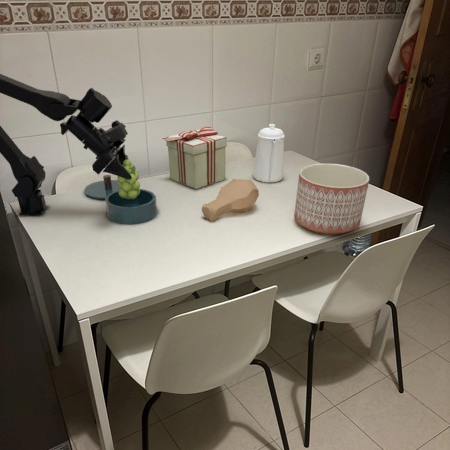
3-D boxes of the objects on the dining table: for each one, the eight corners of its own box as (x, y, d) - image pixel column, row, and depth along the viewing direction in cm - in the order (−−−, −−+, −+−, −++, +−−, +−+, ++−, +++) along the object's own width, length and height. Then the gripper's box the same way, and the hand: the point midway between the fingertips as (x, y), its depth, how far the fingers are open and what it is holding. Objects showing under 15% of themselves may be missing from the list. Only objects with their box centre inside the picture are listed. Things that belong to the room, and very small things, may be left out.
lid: (80, 200, 143) (77, 184, 140) (90, 182, 156) (87, 167, 153) (129, 200, 144) (127, 184, 141) (135, 183, 156) (133, 168, 153)
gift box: (192, 167, 171) (190, 120, 161) (228, 179, 161) (229, 129, 151) (158, 178, 160) (155, 128, 150) (195, 192, 151) (194, 140, 141)
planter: (281, 215, 137) (286, 167, 128) (333, 206, 144) (341, 160, 135) (317, 243, 123) (325, 191, 114) (372, 231, 129) (384, 181, 121)
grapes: (124, 202, 129) (120, 159, 122) (114, 195, 133) (110, 153, 127) (145, 198, 132) (142, 156, 126) (134, 191, 137) (131, 150, 130)
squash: (264, 207, 142) (267, 183, 135) (218, 234, 132) (219, 209, 125) (240, 192, 147) (242, 168, 140) (194, 216, 137) (194, 191, 130)
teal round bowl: (103, 224, 130) (101, 207, 127) (112, 203, 142) (110, 188, 139) (154, 224, 130) (153, 207, 127) (158, 203, 142) (157, 188, 139)
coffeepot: (254, 191, 153) (257, 134, 142) (251, 166, 173) (254, 115, 162) (286, 192, 153) (292, 135, 142) (279, 167, 173) (284, 116, 162)
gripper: (98, 122, 112) (146, 167, 118) (114, 105, 127) (155, 146, 133) (72, 152, 116) (119, 194, 123) (90, 133, 131) (131, 171, 138)
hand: (132, 175), depth 129 cm, fingers closed on grapes, 5 cm apart
